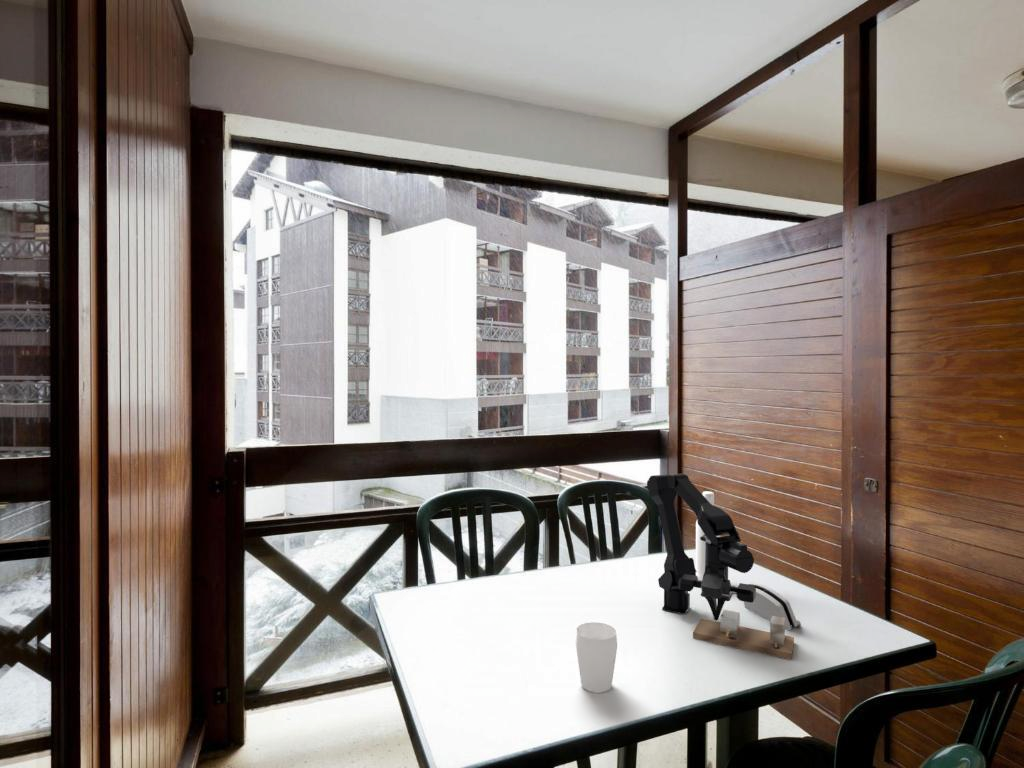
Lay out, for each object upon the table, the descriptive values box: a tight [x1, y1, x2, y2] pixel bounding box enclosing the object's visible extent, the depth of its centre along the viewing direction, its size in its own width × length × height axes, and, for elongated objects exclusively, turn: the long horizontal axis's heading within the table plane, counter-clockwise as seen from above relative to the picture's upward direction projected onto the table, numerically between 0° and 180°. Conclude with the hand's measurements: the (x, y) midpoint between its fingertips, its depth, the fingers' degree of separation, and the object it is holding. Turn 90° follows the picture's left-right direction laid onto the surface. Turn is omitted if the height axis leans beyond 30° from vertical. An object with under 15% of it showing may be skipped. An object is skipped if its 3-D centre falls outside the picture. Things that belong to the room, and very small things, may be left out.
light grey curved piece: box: [743, 582, 803, 631], centre depth 160 cm, size 17×5×10 cm, turn 19°
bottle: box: [695, 490, 722, 581], centre depth 188 cm, size 8×8×30 cm
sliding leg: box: [719, 609, 741, 637], centre depth 148 cm, size 4×8×4 cm, turn 150°
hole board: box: [692, 616, 795, 660], centre depth 146 cm, size 23×10×6 cm, turn 60°
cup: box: [575, 621, 618, 694], centre depth 125 cm, size 9×9×12 cm
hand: (716, 619), depth 150 cm, fingers closed
